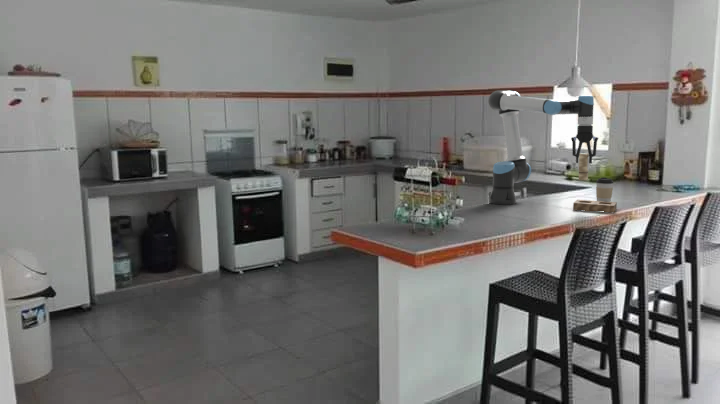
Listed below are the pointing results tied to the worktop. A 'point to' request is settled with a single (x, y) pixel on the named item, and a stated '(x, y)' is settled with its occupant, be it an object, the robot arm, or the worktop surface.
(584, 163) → the leg
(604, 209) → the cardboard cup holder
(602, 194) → the coffee cup
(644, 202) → the worktop surface
